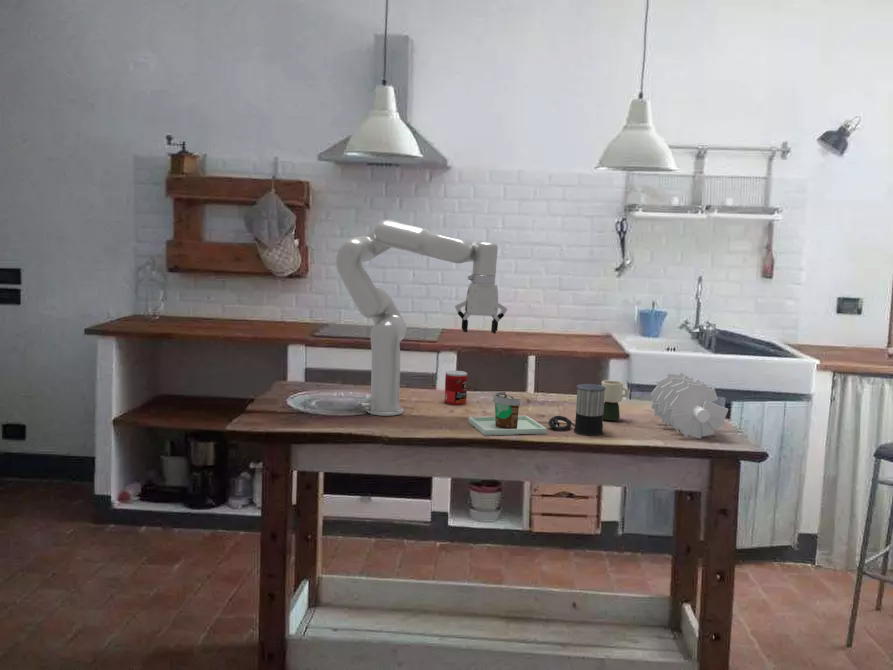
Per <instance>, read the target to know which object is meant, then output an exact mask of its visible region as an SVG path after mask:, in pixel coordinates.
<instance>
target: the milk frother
mask: <svg viewBox="0 0 893 670" xmlns="http://www.w3.org/2000/svg"><path fill="white" fill-rule="evenodd" d="M576 388H577V391H576V409H575V423H574V422H572V421H571V420H570V419H569V418H568V417H566V416H563V415H555V416H553V417H551V418H550V419H549V420H548V426H549V427H550V428H551V429H553V430H556V431H567V430H569V429H570V428H571V426H574V429H573V432H574V433H575V434H578V433H579V434H578V435H582V434H585V435H584V436H591V435H593V436H594V435H595V436H600V434H601V435H603V434H604V431H603V429H604V424H603V423H604V419H603V411H604V402H605V401H604V394H605V389H606V388H605V387H604V386H602V385H600V384H594V383H582V384H577V385H576ZM559 421H563V422H565V423H566V424H567V425H564V426H560V424H561V423H560V422H559Z"/></svg>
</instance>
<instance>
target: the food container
mask: <svg viewBox="0 0 893 670" xmlns="http://www.w3.org/2000/svg"><path fill="white" fill-rule="evenodd" d="M492 402H494V416H495V423H496V427H499V428H502V429H517V423H518V416H519V413H520V412H519V409H520V406H521V401H520V398H514V397H513V396H510V395H507V393H506V391H498V392H496V393H495V394H494V395H493V399H492Z"/></svg>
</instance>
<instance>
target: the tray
mask: <svg viewBox="0 0 893 670" xmlns="http://www.w3.org/2000/svg"><path fill="white" fill-rule="evenodd" d="M468 422H469V423H468V424H470V425H471V426H472V427H473V426H474V427H475V428H474V427H473V428H474V429H476V430H477V431H478V432H479V431H480V432H479V433H481V434H482V435H483V436H484V435H485V436H484V437H493V436H492V435H504V436H519V435H518V434H536V435H547V427H545V426H544V425H543V424H541V423H539V422H538V421H536V420H535V419H533V418H531V417H530V416H528V415H518V423H517V429H502V428H499V427H496V423H495V415H494V416H468ZM515 434H517V435H515Z"/></svg>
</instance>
